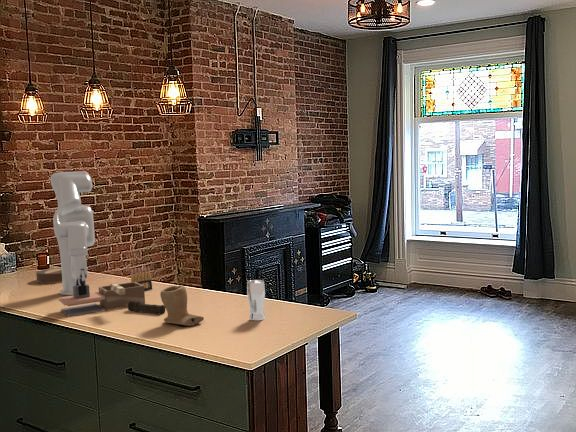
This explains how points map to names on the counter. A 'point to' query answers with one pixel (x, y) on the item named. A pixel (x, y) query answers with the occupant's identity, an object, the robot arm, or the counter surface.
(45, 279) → the container
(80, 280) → the robot arm
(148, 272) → the ammunition clip
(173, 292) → the brown boot
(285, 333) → the counter surface
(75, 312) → the mat
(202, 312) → the counter surface
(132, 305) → the black rough elongated piece
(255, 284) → the beer glass
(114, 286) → the rectangular bar
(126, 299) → the toolbox
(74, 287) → the lid
